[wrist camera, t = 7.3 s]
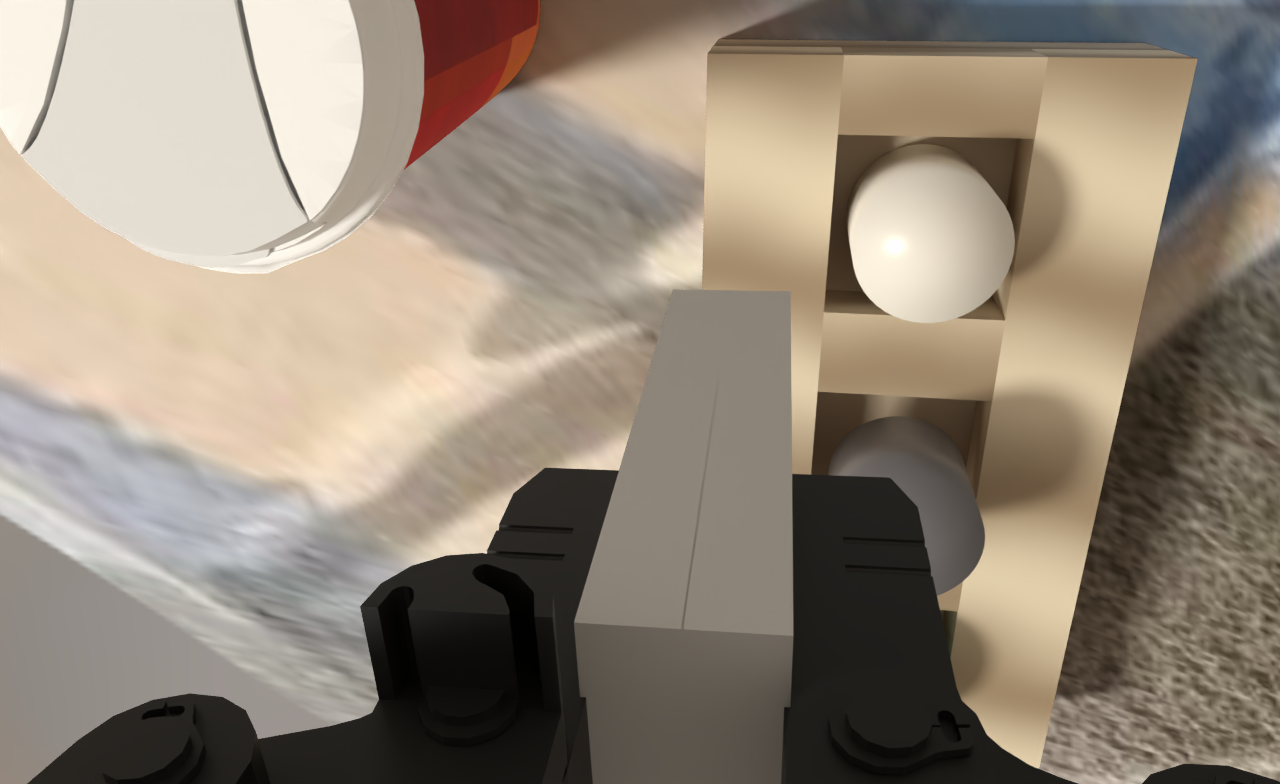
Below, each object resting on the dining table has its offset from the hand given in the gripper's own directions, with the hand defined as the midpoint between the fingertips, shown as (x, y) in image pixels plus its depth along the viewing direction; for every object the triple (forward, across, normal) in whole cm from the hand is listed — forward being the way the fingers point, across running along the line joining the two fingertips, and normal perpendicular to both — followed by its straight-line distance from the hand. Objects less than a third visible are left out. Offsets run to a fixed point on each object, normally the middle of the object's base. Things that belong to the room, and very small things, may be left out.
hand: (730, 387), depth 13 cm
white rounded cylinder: (+17, +5, -2) cm, 17 cm away
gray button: (+14, +4, -10) cm, 18 cm away
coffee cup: (+19, -10, +3) cm, 22 cm away
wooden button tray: (+19, +4, -10) cm, 22 cm away
